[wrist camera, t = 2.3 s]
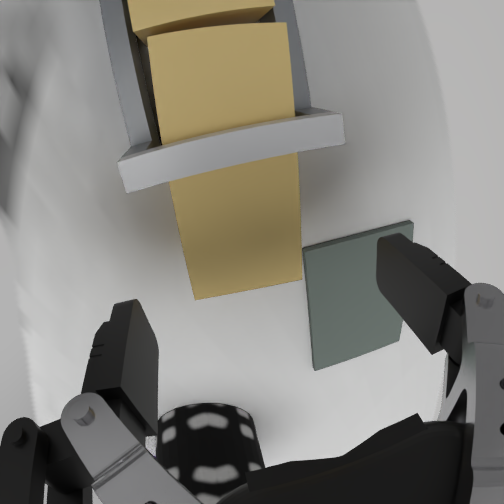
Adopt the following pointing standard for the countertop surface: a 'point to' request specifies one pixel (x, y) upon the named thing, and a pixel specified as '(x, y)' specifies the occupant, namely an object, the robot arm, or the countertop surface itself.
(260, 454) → the white-spotted black cylinder
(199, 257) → the wooden block
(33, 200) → the countertop surface
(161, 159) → the dispenser
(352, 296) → the mat
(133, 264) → the countertop surface
